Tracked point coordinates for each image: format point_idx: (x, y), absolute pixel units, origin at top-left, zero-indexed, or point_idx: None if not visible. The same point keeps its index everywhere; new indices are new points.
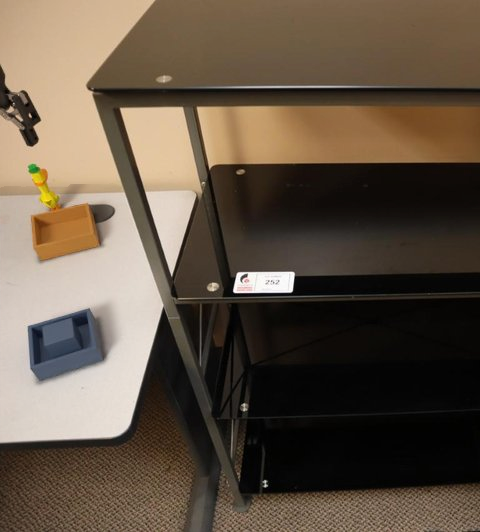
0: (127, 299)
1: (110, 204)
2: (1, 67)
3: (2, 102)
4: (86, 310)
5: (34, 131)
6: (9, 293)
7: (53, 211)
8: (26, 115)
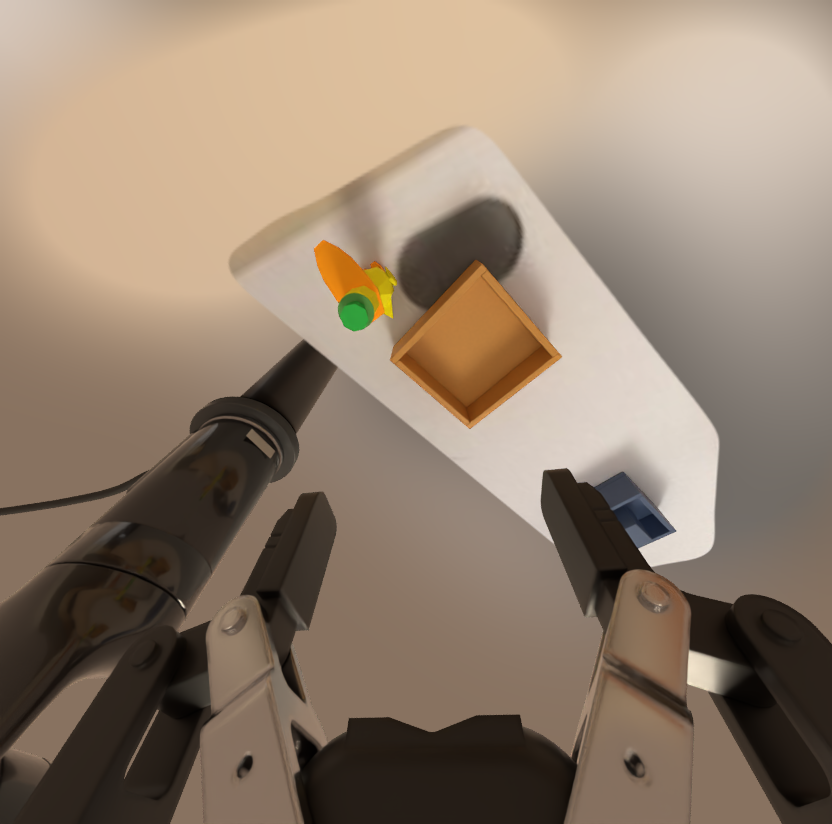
0: (657, 430)
1: (489, 193)
2: None
3: None
4: (637, 497)
5: (626, 540)
6: (470, 470)
7: (425, 329)
8: None
